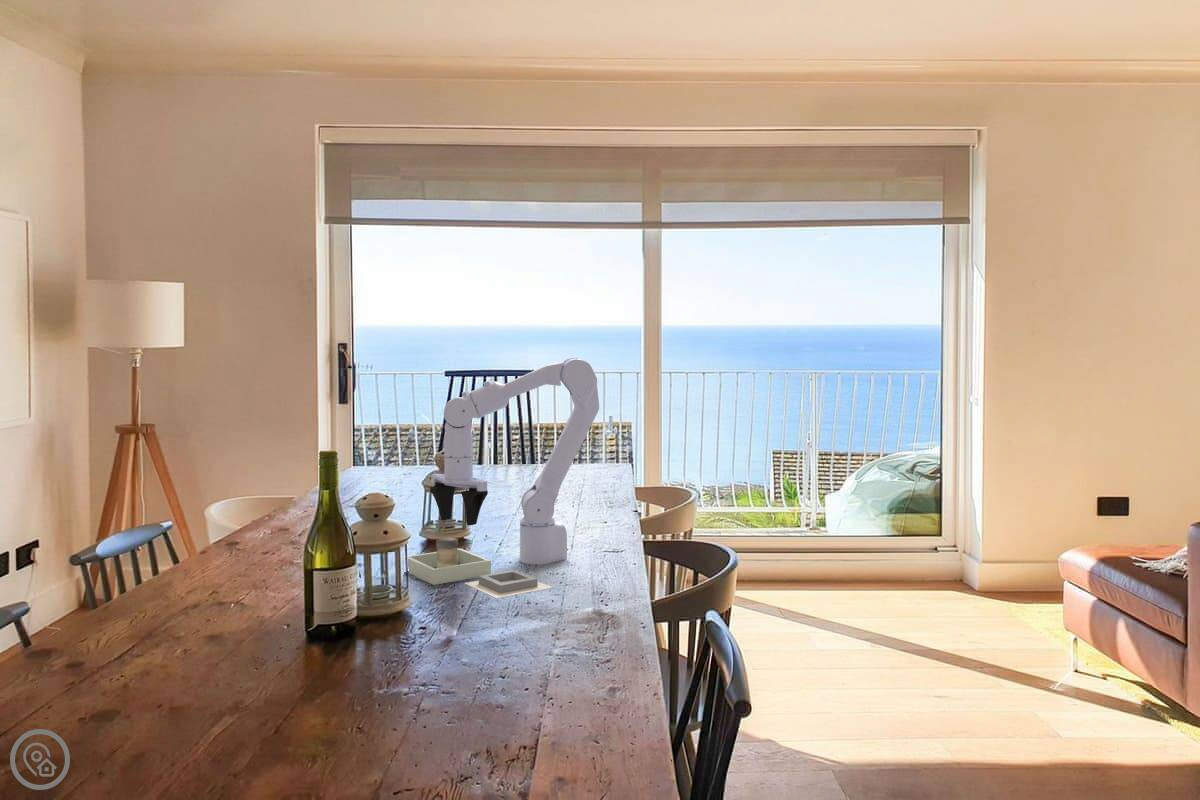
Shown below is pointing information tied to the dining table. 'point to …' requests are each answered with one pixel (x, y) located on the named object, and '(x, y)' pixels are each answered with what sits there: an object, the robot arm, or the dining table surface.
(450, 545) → the strut
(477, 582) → the square socket plate
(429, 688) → the dining table surface
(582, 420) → the robot arm
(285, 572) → the dining table surface
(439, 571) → the bin
